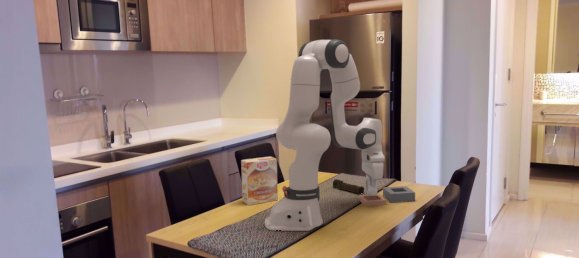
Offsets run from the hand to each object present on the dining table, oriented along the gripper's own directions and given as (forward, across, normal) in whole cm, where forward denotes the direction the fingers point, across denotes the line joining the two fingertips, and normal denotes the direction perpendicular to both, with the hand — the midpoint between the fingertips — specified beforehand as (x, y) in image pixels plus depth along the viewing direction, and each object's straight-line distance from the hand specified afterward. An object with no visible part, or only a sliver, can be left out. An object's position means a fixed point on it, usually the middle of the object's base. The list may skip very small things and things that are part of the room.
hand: (371, 185), depth 192 cm
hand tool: (+8, -21, -6) cm, 23 cm away
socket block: (+7, -3, +14) cm, 16 cm away
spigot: (+4, 0, 0) cm, 4 cm away
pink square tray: (+8, 0, 0) cm, 8 cm away
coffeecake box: (+9, -12, -48) cm, 51 cm away
